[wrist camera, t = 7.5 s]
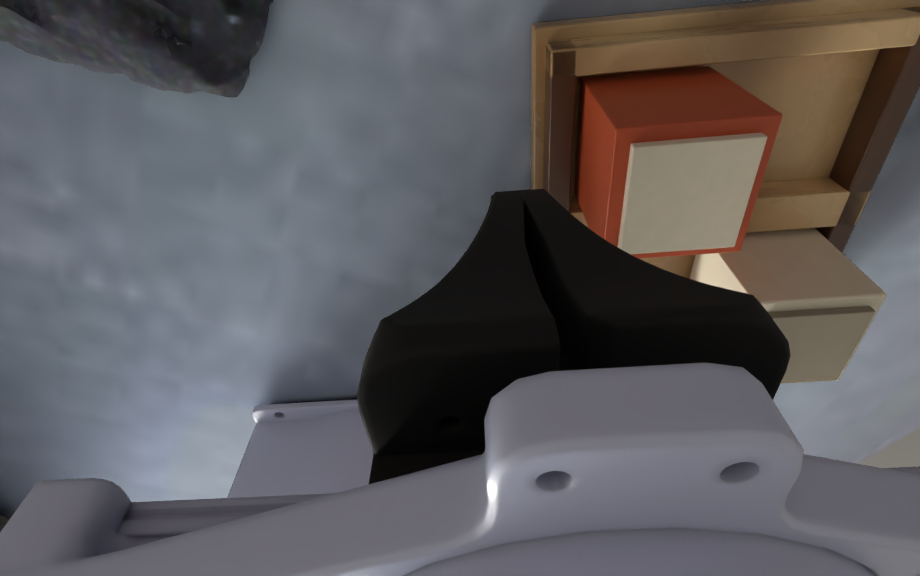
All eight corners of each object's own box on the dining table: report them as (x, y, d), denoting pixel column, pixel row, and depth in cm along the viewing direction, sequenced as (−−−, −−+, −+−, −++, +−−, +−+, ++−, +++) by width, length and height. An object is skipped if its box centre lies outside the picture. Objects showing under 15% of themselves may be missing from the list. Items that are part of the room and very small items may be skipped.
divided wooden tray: (530, 327, 24) (535, 357, 22) (531, 22, 16) (539, 36, 14) (786, 310, 23) (810, 340, 21) (922, -16, 15) (977, -6, 13)
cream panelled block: (681, 307, 22) (728, 394, 18) (701, 228, 19) (760, 309, 15) (776, 301, 21) (844, 387, 18) (808, 220, 19) (895, 300, 15)
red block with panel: (573, 191, 18) (603, 267, 14) (580, 77, 16) (619, 132, 12) (685, 182, 18) (746, 258, 14) (709, 65, 15) (791, 118, 12)
